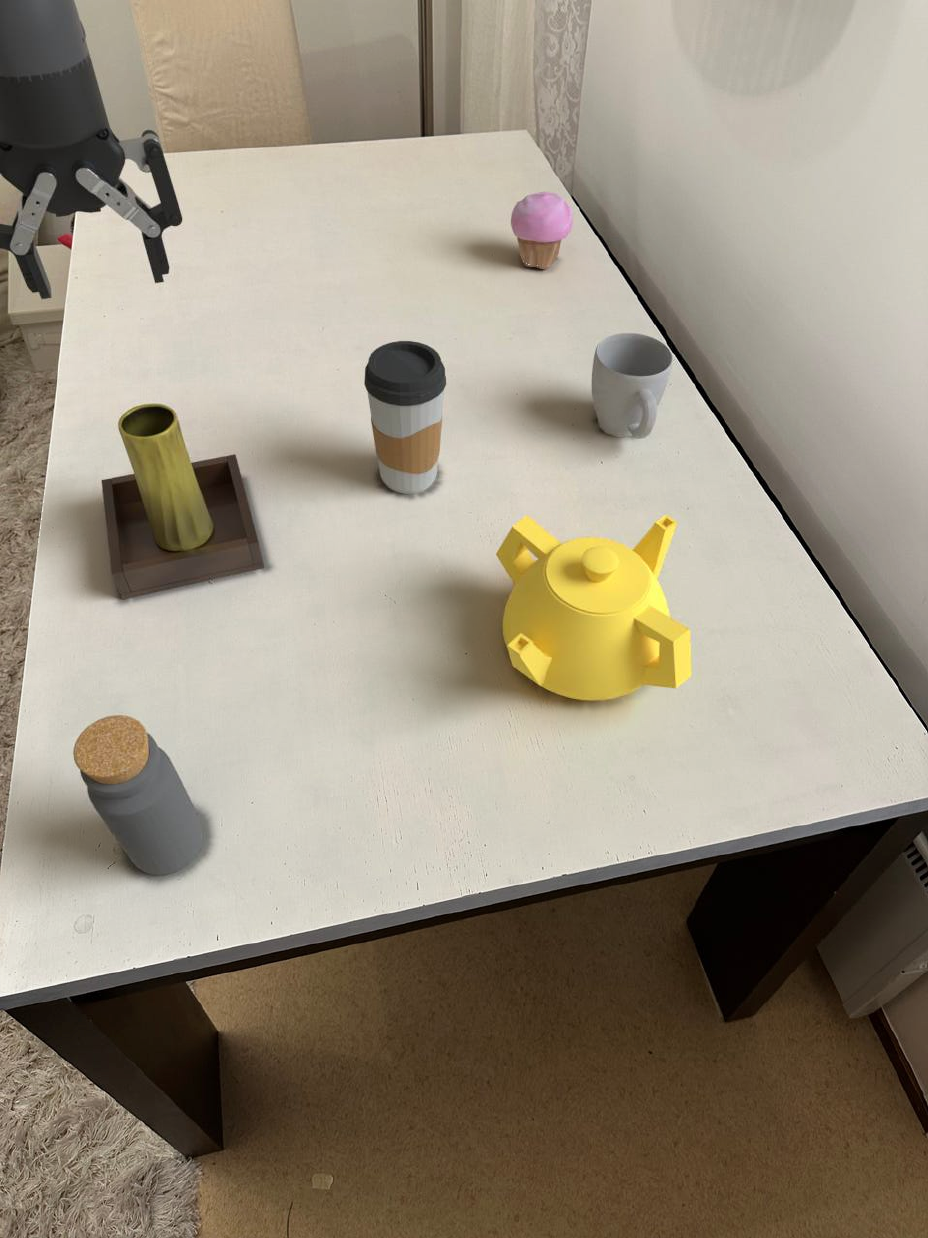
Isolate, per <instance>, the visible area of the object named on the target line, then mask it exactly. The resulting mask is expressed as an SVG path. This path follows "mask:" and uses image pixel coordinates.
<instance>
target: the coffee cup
mask: <svg viewBox="0 0 928 1238" xmlns="http://www.w3.org/2000/svg"><path fill="white" fill-rule="evenodd" d="M363 384H364V388H365V390H366V392H367V397H368V404H369V411H370V422H371V430H372V436H373V442H374V448H375V453H376V457H377V463H378V469H379V475H380V478H381V481H383V483H384V484H385V485H386V487H387V488H388V489H390V490H391V491H392V492H396V493H398V494H405V495H414V494H418V493H421V492H424V491H426V490H427V489H428V488H430V487H431V486H432V485H433V483H434V482H435V480H436V478H437V475H438V465H439V456H440V450H441V439H442V438H441V437H442V426H443V405H444V395H445V393H444V391H445V388H446V386H447V376H446V367H445V366H444V363H443V362H442V358H441V356H440V354H439V352H437V351H436V350H435V348H433V347H431V346H430V345H428V344H425V343H422V342H419V341H412V340H397V341H391V342H388V343H385V344H382V345H381V346H378V347H377V348H375V350H373V351H372V352H371V353H370V355H369V357H368V361H367V363H366V365H365V368H364V383H363Z"/></svg>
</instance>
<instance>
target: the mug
mask: <svg viewBox="0 0 928 1238" xmlns="http://www.w3.org/2000/svg"><path fill="white" fill-rule="evenodd" d="M673 357H674V356H673V354H672V352H671V350H670V348H669V347H668V346H666V345H665V344H664V343H663V342H662V341H660V340H659V339H657V338H654V337H653V336H649V335H647V334H642V333H636V332H634V333H633V332H622V333H616V334H612V335H609V336H607V337H606V338H604V339H602V340H601V341H600V342H599V343H598V344H597V346H596V347H595V351H594V355H593V359H592V369H591V397H592V403H593V408H594V412H595V414H596V417H597V422H598V426H599V428H600V429H601V430H602V431H603V432H604V433H606V434H608V435H610V436H612V437H616V438H631V437H633V438H634V439H645V438H646V437H648V436H649V435H650V434H651V433H652V431H653V429H654V427H655V424H656V420H657V415H658V406H659V405H660V403H661V401H662V398H663V396H664V394H665V391H666V388H667V386H668V383H669V379H670V376H671V372H672V369H673V362H674V358H673Z"/></svg>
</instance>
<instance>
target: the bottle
mask: <svg viewBox="0 0 928 1238" xmlns="http://www.w3.org/2000/svg"><path fill="white" fill-rule="evenodd" d="M73 760H74V763H75V765H76V768H78V769H79V773H80V777H81V779H82V781H83V783H84V784H85V786H86V790H87V796H88V798H89V801H90V803H91V805H92V806H93V807H94V810H96V812H97V814H98V815H99V817H100V818H101V819H102V821H103V822H104V824H105V825H106V827H107V828H108V830H109V831H110V832H111V834H112V835H113V837H114V838H115V840H116V841H117V843H118V844H119V845H120V846H121V848H122V850H123V851H124V852H125V854H126V856H127V857H128V858H129V859H130V861H131V862H132V863H133V865H135V867H136V868H137V869H139V871H141V872H143V873H144V874H148V875H151V876H160V877H161V876H168V875H172V874H175V873H177V872H180V871H181V870H183V869H184V868H186V867H187V866H189V865H190V864H191V863H192V862H193V861H194V860H195V859H196V857H197V856H198V854H200V851H201V849H202V847H203V844H204V840H205V839H204V838H205V833H204V832H205V831H204V826H203V823H202V820H201V818H200V816H199V814H198V812H197V810H196V808H195V806H194V803H193V802H192V800H191V797H190V795H189V793H188V791H187V789H186V787H185V785H184V783H183V782H182V779H181V778H180V775H179V773H178V771H177V770H176V768H175V766H174V763H173V762H172V760H171V758H170V757H169V755H168V754H167V753H166V751H165V750H164V749H162V748H161V747H160V746H158V744H157V742H156V740H155V739H154V737H153V736H152V734H150V733H148V732H147V729H146V727H145V726H144V725H143V723H141V722H140V720H139V719H138V720H137V718H135V717H132V716H128V715H123V714H116V715H108V716H105V717H103V718H100V719H97V720H96V721H94V722H92V723H90V724H89V725H88V726H86V727H85V728H84V729H83V731H82V732H81V733H80V734H79V736H78V737H77V739H76V741H75V744H74V747H73Z"/></svg>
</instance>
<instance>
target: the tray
mask: <svg viewBox="0 0 928 1238" xmlns="http://www.w3.org/2000/svg"><path fill="white" fill-rule="evenodd" d="M191 464H192V467H193V470H194V474H195V477H196V480H197V482H198V485H199V487H200V490H201V493H202V495H203V498H204V501H205V504H206V507H207V510H208V513H209V515H210V517H211V519H212V522H213V532H212V535H211V536H210V538H209V539H208V540H207V541H206V542H205V543H204V544H202V545H201V546H199V547H197V548H195V549H192V550H188V551H179V552H176V551H169V550H166V549H163V548H161V547H160V546H159V545H158V544H157V543H156V542H155V540H154V538H153V534H152V529H151V525H150V522H149V519H148V516H147V513H146V510H145V507H144V503H143V500H142V497H141V494H140V490H139V487H138V484H137V481H136V478H135V474H134V473H131V474H130V473H129V474H126V475H125V474H124V475H120V476H115V477H111V478H110V477H109V478H105V479H101V489H102V498H103V499H102V500H103V508H104V509H103V510H104V517H105V518H104V519H105V526H106V527H105V528H106V535H107V544H108V545H107V546H108V554H109V562H110V563H109V564H110V573H111V576H112V579H113V581H114V583H115V585H116V587H117V589H118V592H119V594H120V596H121V598H122V600H128V599H132V598H138V597H141V596H145V595H150V594H155V593H159V592H163V591H168V590H174V589H177V588H181V587H185V586H191V585H195V584H199V583H204V582H208V581H212V580H217V579H221V578H226V577H230V576H235V575H239V574H244V573H249V572H252V571H257V570H262V569H265V563H264V558H263V555H262V551H261V545H260V542H259V538H258V535H257V534H258V533H257V530H256V527H255V523H254V519H253V515H252V512H251V507H250V503H249V500H248V496H247V492H246V488H245V485H244V481H243V478H242V474H241V469H240V466H239V462H238V459H237V454H235V453H233V454H229V455H224V456H219V457H213V458H208V459H204V460H203V459H202V460H198V461H191Z"/></svg>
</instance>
